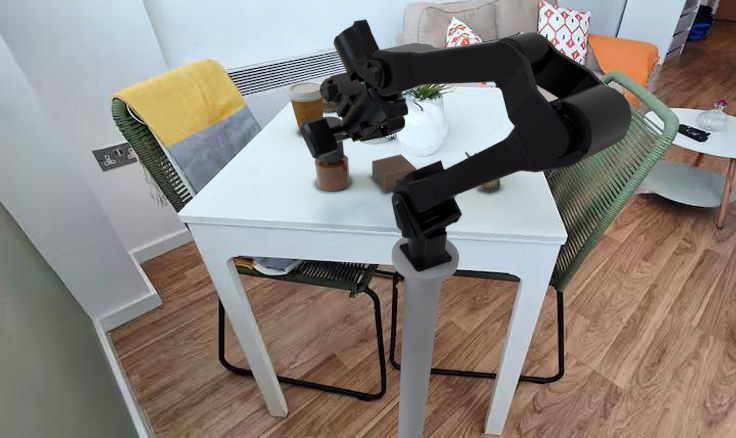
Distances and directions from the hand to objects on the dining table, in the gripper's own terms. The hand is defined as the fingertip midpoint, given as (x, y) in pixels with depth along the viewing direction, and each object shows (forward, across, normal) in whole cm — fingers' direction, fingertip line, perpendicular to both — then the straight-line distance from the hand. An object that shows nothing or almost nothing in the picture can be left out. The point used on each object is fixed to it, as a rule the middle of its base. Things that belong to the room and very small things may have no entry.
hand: (340, 145), depth 73 cm
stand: (+5, -11, +10) cm, 15 cm away
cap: (+6, 0, 0) cm, 6 cm away
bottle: (+10, 0, +4) cm, 11 cm away
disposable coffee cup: (+29, -9, -15) cm, 34 cm away
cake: (+38, -23, -23) cm, 50 cm away
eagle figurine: (-3, -26, +18) cm, 31 cm away
